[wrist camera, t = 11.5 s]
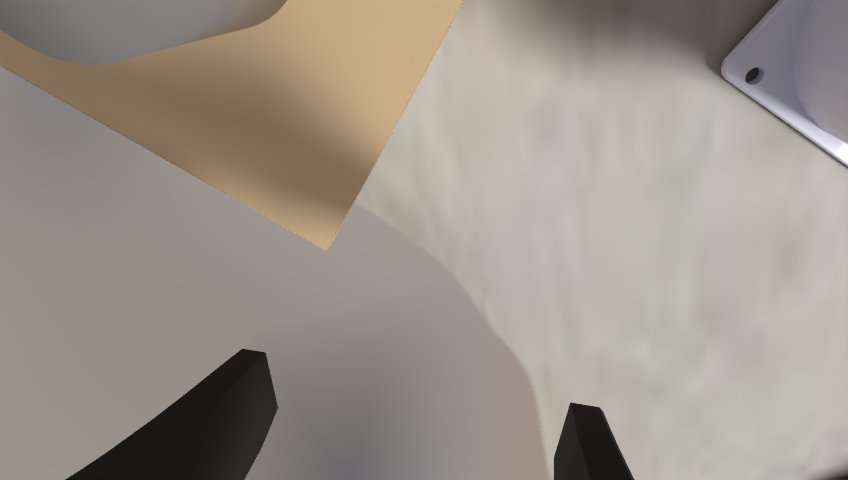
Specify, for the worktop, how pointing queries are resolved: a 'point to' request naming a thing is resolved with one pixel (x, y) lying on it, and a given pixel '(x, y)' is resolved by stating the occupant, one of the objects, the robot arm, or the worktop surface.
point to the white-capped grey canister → (124, 25)
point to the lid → (266, 101)
